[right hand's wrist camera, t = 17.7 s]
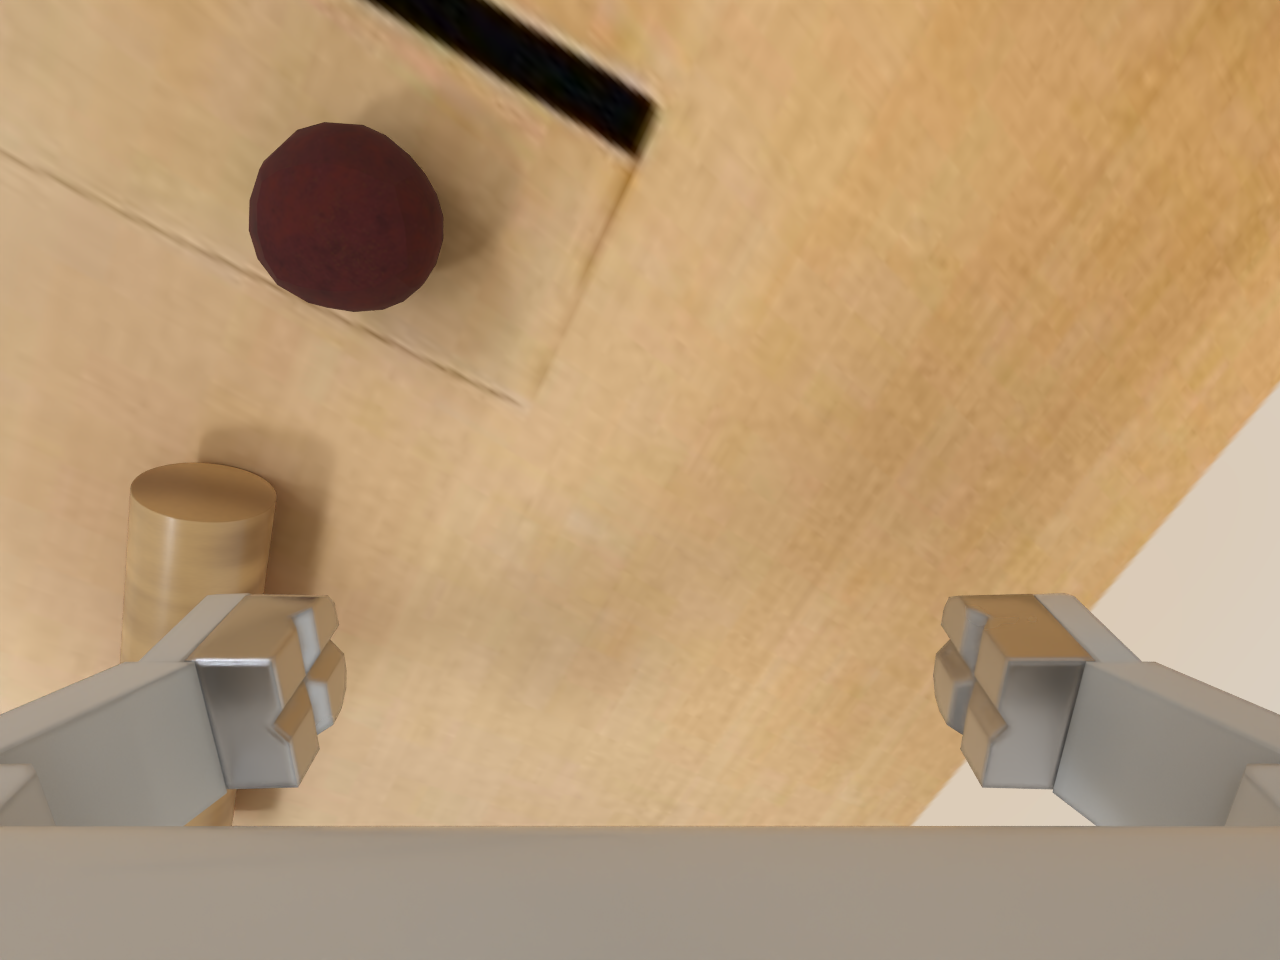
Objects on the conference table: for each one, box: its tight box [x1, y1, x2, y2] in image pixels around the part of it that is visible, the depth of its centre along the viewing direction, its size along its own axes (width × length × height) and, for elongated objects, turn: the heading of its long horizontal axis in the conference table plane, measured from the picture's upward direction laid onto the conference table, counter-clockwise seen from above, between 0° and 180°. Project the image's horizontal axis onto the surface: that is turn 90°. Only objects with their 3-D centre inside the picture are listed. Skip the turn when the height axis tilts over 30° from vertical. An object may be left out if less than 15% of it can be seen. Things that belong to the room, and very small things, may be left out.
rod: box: [120, 463, 277, 826], centre depth 41 cm, size 24×6×6 cm, turn 163°
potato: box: [249, 122, 443, 312], centre depth 32 cm, size 7×8×7 cm
